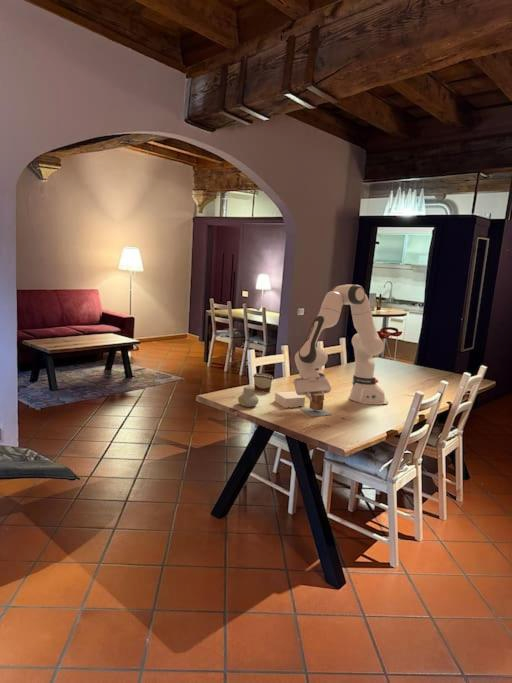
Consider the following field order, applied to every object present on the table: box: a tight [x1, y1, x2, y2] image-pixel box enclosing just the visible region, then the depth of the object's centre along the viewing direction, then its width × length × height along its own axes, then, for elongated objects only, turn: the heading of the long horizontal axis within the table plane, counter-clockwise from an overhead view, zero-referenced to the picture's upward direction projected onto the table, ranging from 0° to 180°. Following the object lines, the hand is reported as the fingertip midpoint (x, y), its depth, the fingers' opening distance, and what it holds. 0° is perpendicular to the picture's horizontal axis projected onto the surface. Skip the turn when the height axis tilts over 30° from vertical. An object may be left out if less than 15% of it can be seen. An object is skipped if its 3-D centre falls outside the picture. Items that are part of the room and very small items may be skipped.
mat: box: [299, 407, 332, 418], centre depth 245 cm, size 12×12×1 cm
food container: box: [252, 372, 274, 394], centre depth 279 cm, size 12×6×10 cm, turn 71°
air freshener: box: [237, 385, 259, 408], centre depth 248 cm, size 11×8×10 cm
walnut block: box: [309, 392, 325, 410], centre depth 244 cm, size 5×5×8 cm
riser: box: [274, 390, 306, 409], centre depth 256 cm, size 12×12×5 cm
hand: (317, 400), depth 243 cm, fingers closed on walnut block, 5 cm apart
